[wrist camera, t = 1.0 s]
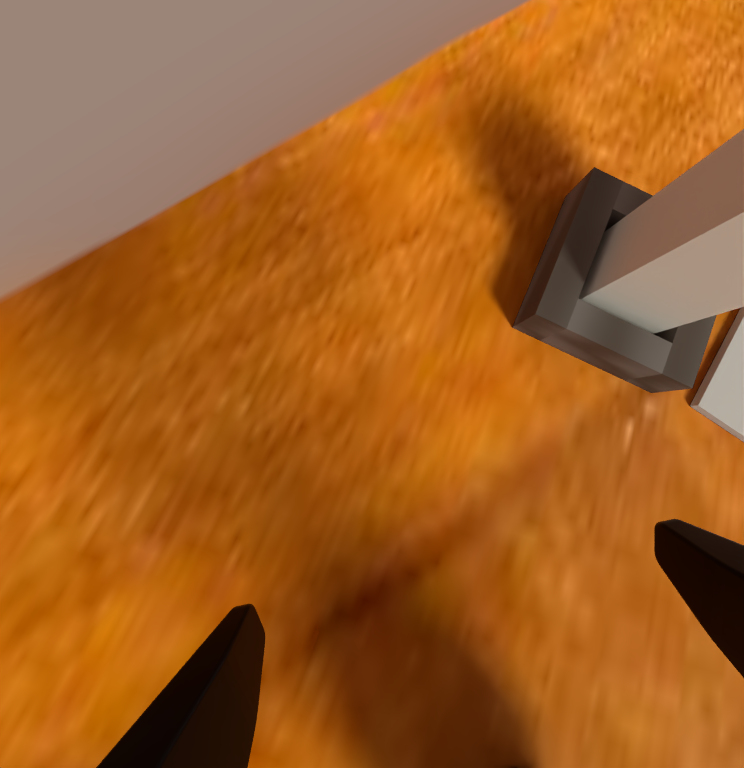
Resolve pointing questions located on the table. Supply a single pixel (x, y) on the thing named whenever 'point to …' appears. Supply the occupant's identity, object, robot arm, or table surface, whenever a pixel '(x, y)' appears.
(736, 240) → the off-white block
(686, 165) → the table surface
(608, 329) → the block
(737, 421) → the rubber mat
